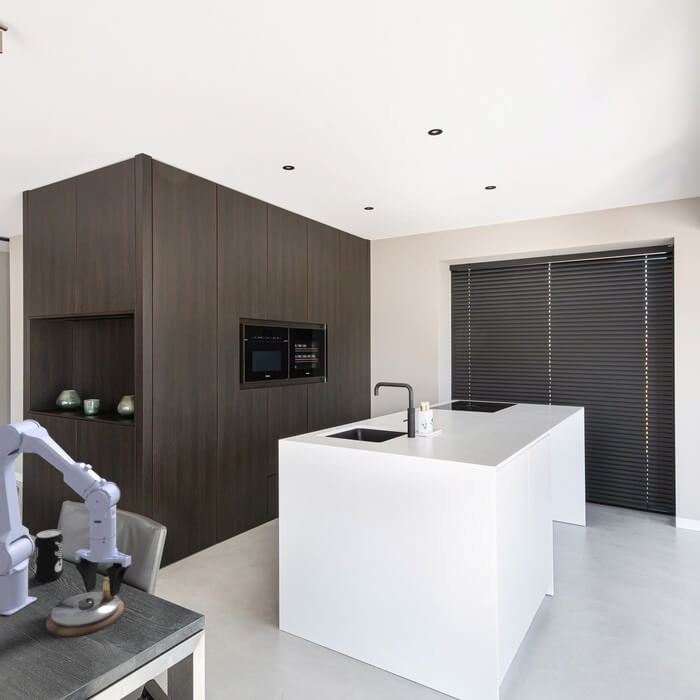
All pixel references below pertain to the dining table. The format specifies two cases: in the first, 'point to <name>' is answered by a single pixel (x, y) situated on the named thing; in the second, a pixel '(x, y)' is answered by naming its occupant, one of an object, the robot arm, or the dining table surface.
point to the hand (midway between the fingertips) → (102, 592)
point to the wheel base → (84, 629)
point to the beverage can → (48, 555)
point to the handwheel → (86, 608)
